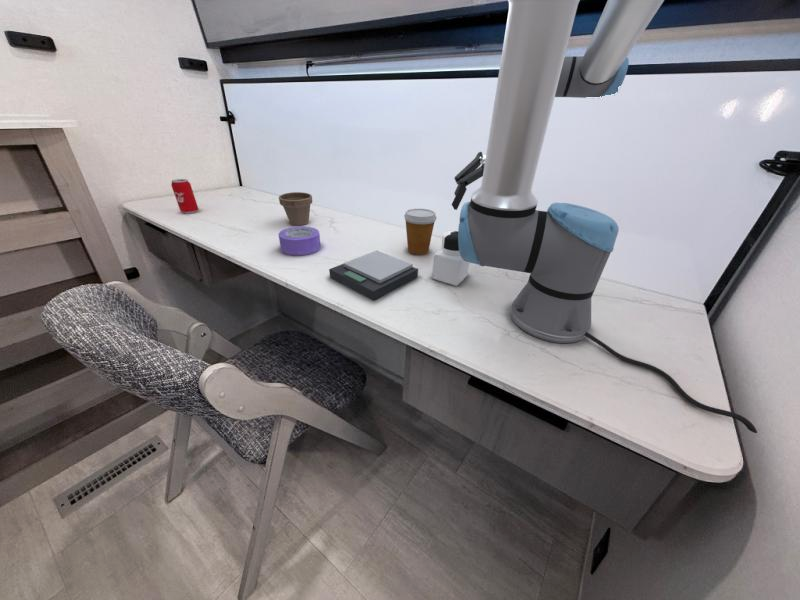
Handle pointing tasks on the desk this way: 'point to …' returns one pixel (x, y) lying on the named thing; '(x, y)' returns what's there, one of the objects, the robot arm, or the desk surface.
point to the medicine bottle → (449, 261)
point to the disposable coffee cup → (419, 230)
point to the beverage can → (184, 195)
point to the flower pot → (296, 207)
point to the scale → (374, 274)
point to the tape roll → (299, 240)
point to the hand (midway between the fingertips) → (476, 212)
